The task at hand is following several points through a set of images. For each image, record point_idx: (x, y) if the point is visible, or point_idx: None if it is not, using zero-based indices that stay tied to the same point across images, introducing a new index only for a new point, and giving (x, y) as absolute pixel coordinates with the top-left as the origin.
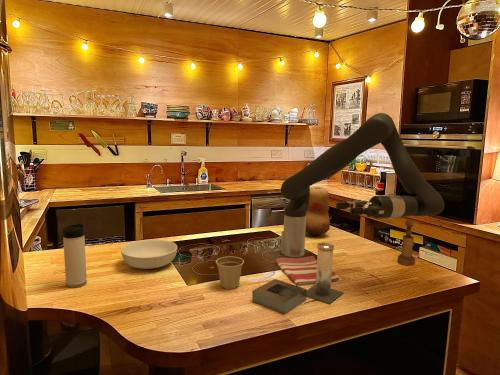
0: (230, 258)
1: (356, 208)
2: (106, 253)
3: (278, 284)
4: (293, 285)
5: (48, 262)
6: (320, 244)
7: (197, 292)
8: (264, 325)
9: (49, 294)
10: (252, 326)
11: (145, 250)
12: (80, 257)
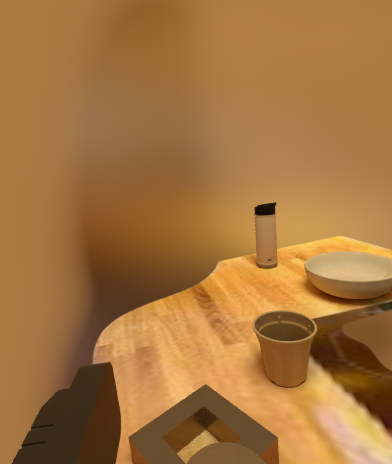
0: (313, 328)
1: (61, 417)
2: None
3: (238, 441)
4: None
5: (318, 246)
6: (241, 460)
7: (249, 337)
8: None
9: (242, 261)
10: None
11: (379, 272)
12: (260, 237)
